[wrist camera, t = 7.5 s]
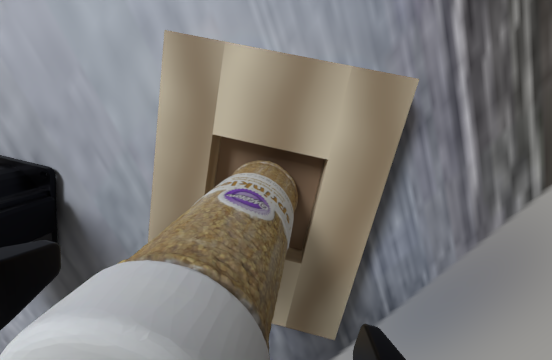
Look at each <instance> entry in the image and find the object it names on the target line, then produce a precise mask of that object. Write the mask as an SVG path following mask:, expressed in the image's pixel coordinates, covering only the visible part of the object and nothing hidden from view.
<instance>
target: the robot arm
mask: <svg viewBox="0 0 552 360" xmlns="http://www.w3.org/2000/svg"><path fill="white" fill-rule="evenodd" d="M46 174H47V175H46ZM60 269H61V248H60V245H59V244H58V243H57V220H56V178H55V172H54V170H53V169H52V168H50V167H47V166H43V165H39V164H35V163H31V162H27V161H22V160H18V159H14V158H10V157H6V156H2V155H0V330H1V329H2V328H3V327H5V326H6V325H7V324H8V323H9V322H10V321H11V320H12V319H13V318H14V317H15V316H16V315H18V314H19V313H20V312H21V311H22V310H23V309H24V308H25V307H26V306H27V305H28V304H29V303H30V302H31V301H32V300H33V299H34V298H35V297H36V296H37V295H38V294H39V293H40V292H41V291H42V290H43V289H44V288H45V287H46V286H47V285H48V284H49V283H50V282H51V281H52V280H53V279H54V278H55V277H56V276H57V275H58V273H59V271H60ZM353 360H406V359H405V358H404V357H403V356H402V354H401V353H400V352H399V351H398V350H397V348H396V347H395V346H394V345H393V344H392V343H391V341H390V340H389V339H388V338H387V337H386V335H385V334H384V333H383V332H382V331H381V330H380V329H379V328H378V327H375V326H372V325H368V324H364V325H362V327H361V329H360V332H359V334H358V337H357V340H356V343H355V346H354V350H353Z"/></svg>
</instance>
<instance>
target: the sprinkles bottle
mask: <svg viewBox="0 0 552 360" xmlns="http://www.w3.org/2000/svg"><path fill="white" fill-rule="evenodd" d="M297 202H298V193H297V188H296V184H295V182H294V180H293V178H292V177H291V176H290V174H289V173H288V172H287V171H286V170H284V169H283V168H282V167H280V166H279V165H278V164H276V163H273V162H271V161H262V160H258V161H252V162H248V163H246V164H244V165H242V166H240V167H239V168H238V169H237V170H236V171H235V172H234V173H233V174H232V176H230V177H228V178H227V179H225V180H224V181H222V182H221V183H220V184H218V185H217V186H216V187H214V188H213V189H212V190H211V191H209V192H208V193H207V194H205V195H204V196H203V197H202V198H200V199H199V200H198V201H197V202H196V203H195V204H194V205H193V206H192V207H191V208H190V209H189V210H187V211H186V212H185V213H184V214H183V215H181V216H180V217H179V218H178V219H177V220H176V221H174V222H172V223H171V224H170V225H169V226H168V227H167V228H166V229H165V230H164V231H162V232H161V233H160V234H159V235H158V236H157V237H155V238H153V240H151V241H150V242H149V243H148V244H146V245H145V246H143V247H142V249H140V250H139V251H138V252H137V253H135V254H134V255H133V256H132V257H130V258H129V259H126V260H123V261H121V262H119V263H118V264H116V265H113V266H111V267H108V268H106V269H103V270H102V271H100V272H99V273H97V274H95V275H94V276H92V277H91V278H90V279H88V280H87V281H86V282H84V283H83V284H82V285H81V286H79V287H78V288H77V289H75V290H74V291H73V292H71V293H70V294H69V295H67V296H66V297H65V298H63V299H62V300H61V301H59V302H58V303H57V304H55V305H54V306H53V307H52V308H50V309H49V310H48V311H46V312H45V313H44V314H43V315H41V316H40V317H39V318H37V319H36V320H35V321H34V322H32V323H31V324H30V325H29V326H27V327H26V328H25V329H24V330H23V331H21V332H20V333H19V334H18V335H17V336H16V337H15V338H14V339H13V340H12V341H11V342H10V343H9V344H8V345H7V347H6V348H5V349H4V351H3V352H2V353H1V355H0V360H270V357H269V343H268V341H269V333H270V330H271V323H272V320H273V317H274V311H275V305H276V302H277V297H278V291H279V288H280V282H281V278H282V274H283V269H284V262H285V257H286V252H287V250H288V248H289V243H290V237H291V232H292V226H293V220H294V212H295V209H296V207H297Z"/></svg>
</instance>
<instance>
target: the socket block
mask: <svg viewBox="0 0 552 360" xmlns="http://www.w3.org/2000/svg"><path fill="white" fill-rule="evenodd" d="M418 82H419V79H416V78H411V77H406V76H400V75H395V74H390V73H385V72H380V71H374V70H369V69H364V68H359V67H354V66H348V65H343V64H338V63H333V62H328V61H323V60H317V59H312V58H307V57H302V56H297V55H291V54H286V53H281V52H276V51H271V50H265V49H260V48H255V47H250V46H245V45H240V44H234V43H229V42H224V41H219V40H214V39H208V38H203V37H198V36H193V35H188V34H182V33H177V32H172V31H167V30H165V32H164V45H163V57H162V70H161V83H160V96H159V109H158V121H157V134H156V147H155V160H154V173H153V185H152V198H151V211H150V224H149V237H148V243H149V242H150V241H151V240H153V238H155V237H157V236H158V235H159V234H160V233H161V232H162V231H164V230H165V229H166V228H167V227H168V226H169V225H170V224H171V223H172V222H174V221H176V220H177V219H178V218H179V217H180V216H181V215H183V214H184V213H185V212H186V211H187V210H189V209H190V208H191V207H192V206H193V205H194V204H195V203H196V202H197V201H198V200H199V199H200V198H202V197H203V196H204V195H205V194H207V193H208V192H209V191H211V190H212V189H213V188H214V187H216V186H217V185H218V184H220V183H221V182H222V181H224V180H225V179H227V178H228V177H230V176H232V174H233V173H234V172H235V171H236V170H237V169H238V168H239V167H240V166H242V165H244V164H246V163H248V162H252V161H258V160H262V161H271V162H273V163H276V164H278V165H279V166H280V167H282V168H283V169H284V170H286V171H287V172H288V173H289V174H290V176H291V177H292V178H293V180H294V182H295V184H296V188H297V193H298V202H297V207H296V209H295V212H294V220H293V226H292V232H291V237H290V243H289V248H288V250H287V252H286V257H285V262H284V269H283V274H282V278H281V282H280V288H279V291H278V297H277V302H276V305H275V311H274V317H273V320H272V324H276V325H280V326H284V327H287V328H291V329H295V330H298V331H302V332H306V333H310V334H313V335H317V336H321V337H324V338H328V339H332V340H335V338H336V335H337V332H338V329H339V326H340V322H341V319H342V316H343V313H344V310H345V307H346V304H347V301H348V298H349V295H350V292H351V289H352V285H353V282H354V279H355V276H356V273H357V270H358V267H359V264H360V261H361V258H362V255H363V251H364V248H365V245H366V242H367V239H368V236H369V233H370V230H371V227H372V224H373V221H374V217H375V214H376V211H377V208H378V205H379V202H380V199H381V196H382V193H383V190H384V187H385V183H386V180H387V177H388V174H389V171H390V168H391V165H392V162H393V159H394V156H395V153H396V150H397V146H398V143H399V140H400V137H401V134H402V131H403V128H404V125H405V122H406V119H407V116H408V112H409V109H410V106H411V103H412V100H413V97H414V94H415V91H416V88H417V85H418Z"/></svg>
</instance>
